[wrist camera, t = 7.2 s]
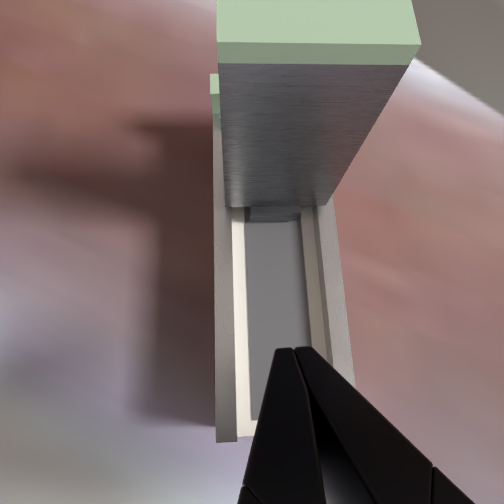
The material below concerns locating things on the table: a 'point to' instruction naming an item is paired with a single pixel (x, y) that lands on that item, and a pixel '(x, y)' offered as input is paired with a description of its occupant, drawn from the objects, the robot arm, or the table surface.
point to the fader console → (270, 296)
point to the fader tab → (303, 94)
